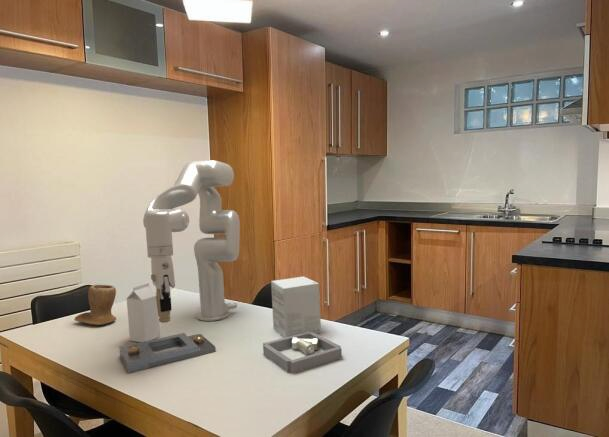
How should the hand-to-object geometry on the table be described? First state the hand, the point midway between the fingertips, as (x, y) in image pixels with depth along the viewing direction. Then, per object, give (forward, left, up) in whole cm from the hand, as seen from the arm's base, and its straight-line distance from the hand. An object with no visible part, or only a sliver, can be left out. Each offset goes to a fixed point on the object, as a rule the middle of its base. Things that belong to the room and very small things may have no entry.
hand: (164, 308), depth 137 cm
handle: (0, 0, -4) cm, 4 cm away
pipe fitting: (-36, +24, -15) cm, 46 cm away
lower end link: (-3, 0, -15) cm, 15 cm away
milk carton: (+3, -19, -15) cm, 24 cm away
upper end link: (+3, 0, -15) cm, 15 cm away
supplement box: (-43, +7, -15) cm, 46 cm away
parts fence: (-33, +27, -15) cm, 45 cm away
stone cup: (+14, -51, -15) cm, 55 cm away
